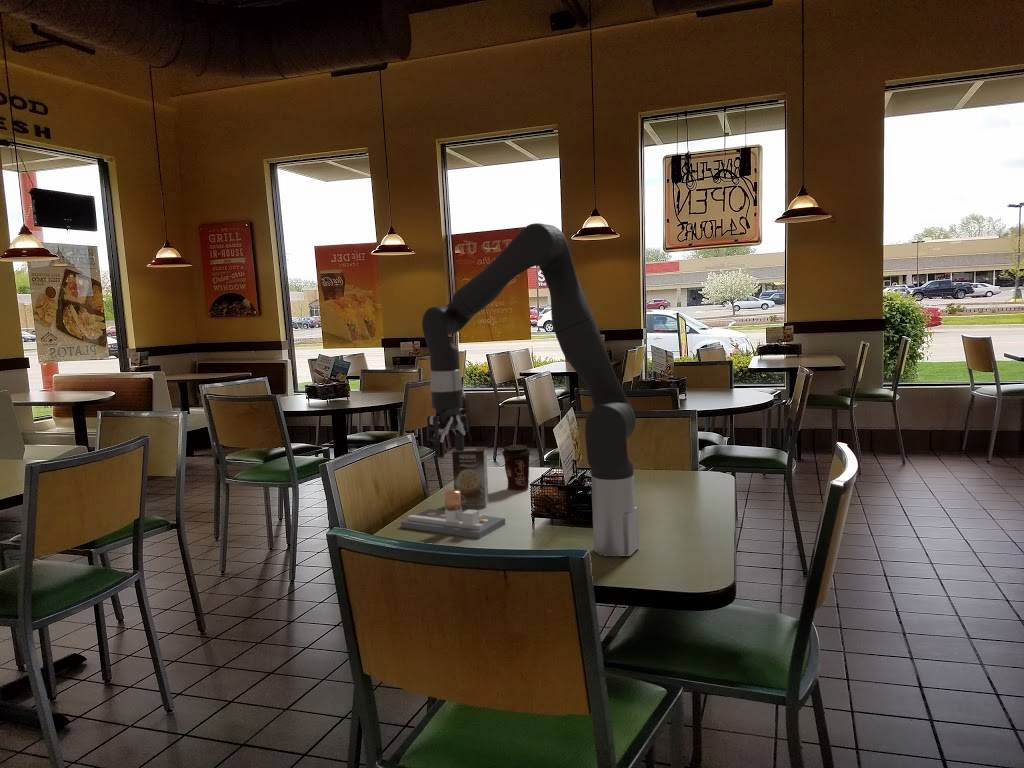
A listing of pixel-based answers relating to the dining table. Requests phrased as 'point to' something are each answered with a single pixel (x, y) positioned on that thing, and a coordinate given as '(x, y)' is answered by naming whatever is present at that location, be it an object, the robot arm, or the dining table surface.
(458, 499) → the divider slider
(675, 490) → the dining table surface
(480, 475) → the coffee box
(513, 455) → the coffee cup
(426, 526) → the plate
